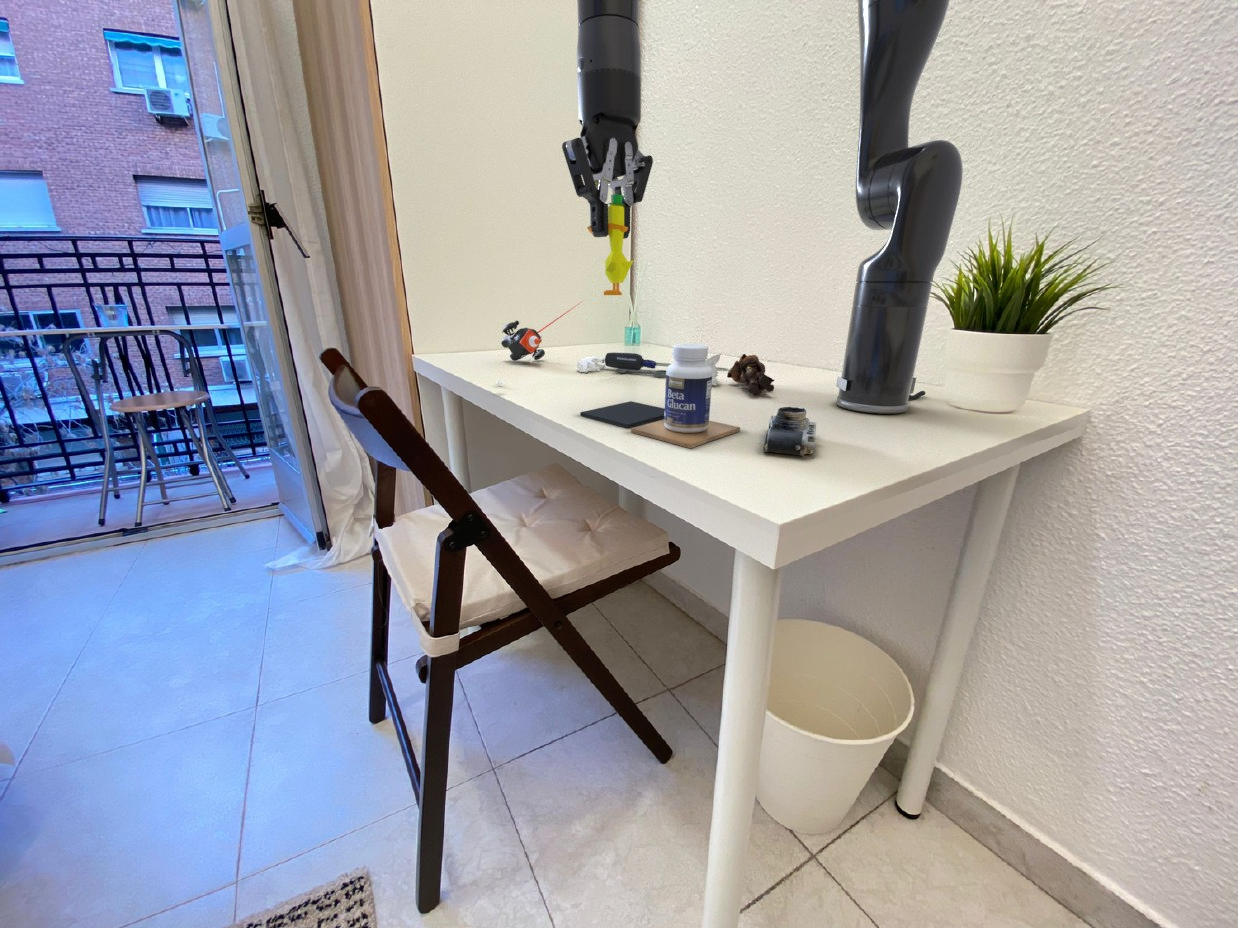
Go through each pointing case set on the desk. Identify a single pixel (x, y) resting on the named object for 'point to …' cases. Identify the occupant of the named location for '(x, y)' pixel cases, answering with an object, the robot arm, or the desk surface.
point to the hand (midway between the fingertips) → (611, 237)
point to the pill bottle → (688, 390)
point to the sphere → (498, 383)
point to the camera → (790, 432)
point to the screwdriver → (634, 362)
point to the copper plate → (685, 439)
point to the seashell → (713, 367)
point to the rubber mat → (626, 414)
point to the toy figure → (616, 245)
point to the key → (644, 372)
